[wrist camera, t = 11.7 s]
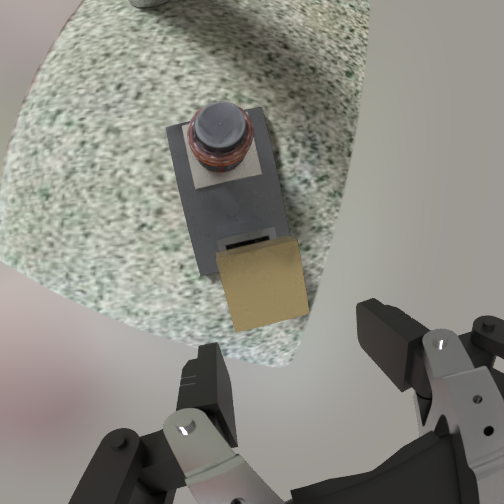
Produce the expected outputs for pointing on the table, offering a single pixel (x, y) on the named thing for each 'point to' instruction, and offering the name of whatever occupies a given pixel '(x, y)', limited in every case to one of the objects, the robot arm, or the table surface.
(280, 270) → the plunger
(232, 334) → the table surface
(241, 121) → the supplement bottle
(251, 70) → the table surface
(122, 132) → the table surface
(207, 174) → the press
